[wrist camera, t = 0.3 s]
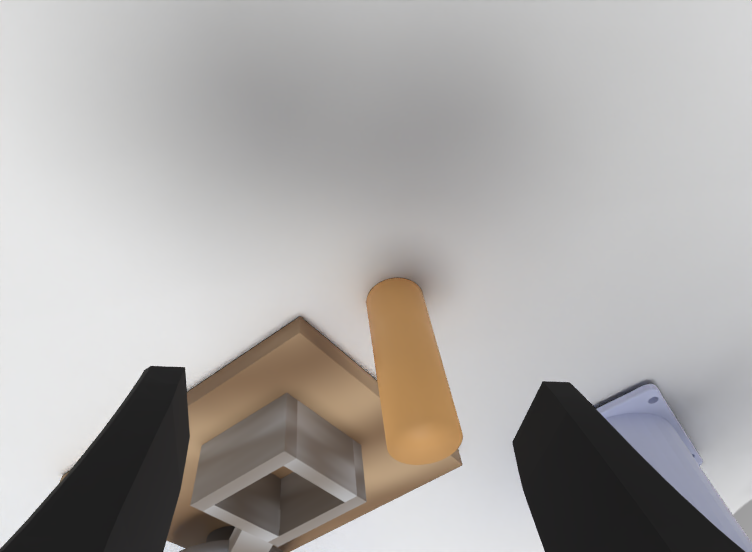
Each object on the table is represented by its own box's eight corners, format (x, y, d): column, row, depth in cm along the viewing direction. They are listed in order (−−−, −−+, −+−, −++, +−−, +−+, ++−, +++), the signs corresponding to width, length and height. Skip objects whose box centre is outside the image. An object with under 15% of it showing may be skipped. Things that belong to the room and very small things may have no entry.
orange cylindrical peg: (433, 302, 22) (476, 442, 17) (388, 330, 23) (414, 474, 17) (401, 268, 21) (436, 406, 15) (355, 298, 22) (371, 442, 16)
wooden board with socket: (458, 448, 29) (491, 572, 23) (236, 562, 34) (223, 685, 28) (299, 316, 22) (297, 450, 17) (50, 483, 27) (-12, 627, 21)
